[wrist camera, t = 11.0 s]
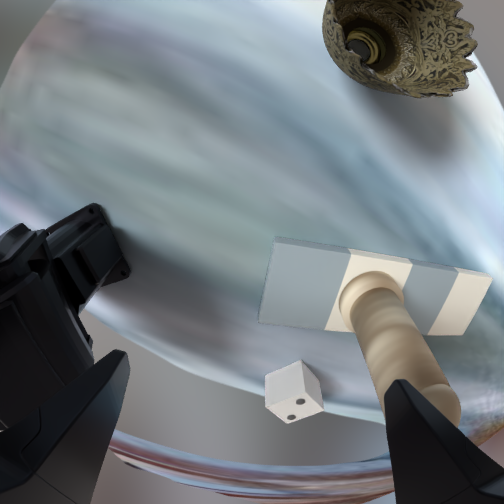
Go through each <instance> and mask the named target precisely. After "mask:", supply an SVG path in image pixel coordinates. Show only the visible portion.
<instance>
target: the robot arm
mask: <svg viewBox="0 0 504 504" xmlns="http://www.w3.org/2000/svg"><path fill="white" fill-rule="evenodd" d="M91 208H93V209H94V212H92V210H91ZM49 233H50V234H49ZM123 270H124V271H125V272H126V273H124V272H123ZM130 274H131V270H130V268H129V266H128V264H127V262H126V260H125V259H124V257H123V255H122V252H121V250H120V248H119V246H118V244H117V242H116V240H115V238H114V236H113V234H112V232H111V230H110V228H109V226H107V223H106V221H105V219H104V217H103V215H102V213H101V211H100V209H99V207H98V205H97V204H95V203H91V204H89V205H87V206H85V207H84V208H82V209H80V210H78V211H76V212H74V213H73V214H71V215H69V216H67V217H66V218H64V219H62V220H60V221H59V222H57V223H55V224H54V225H52V226H50V227H49V228H47V229H46V230H45V229H41V230H37V231H31V229H29V228H28V227H26V226H25V225H24V224H23V223H20V224H17V225H15V226H14V227H12V228H11V229H9V230H8V231H6V232H5V233H3V234H2V235H1V236H0V431H2V432H0V504H90V502H91V499H92V495H93V492H94V489H95V486H96V482H97V479H98V476H99V473H100V470H101V467H102V464H103V461H104V458H105V455H106V452H107V449H108V446H109V443H110V440H111V437H112V435H113V432H114V429H115V426H116V423H117V421H118V418H119V415H120V411H121V408H122V403H123V399H124V395H125V391H126V387H127V383H128V379H129V375H130V365H129V361H128V355H127V353H126V352H125V351H121V350H117V349H115V350H113V351H112V352H110V353H109V354H107V355H106V356H105V357H103V358H102V359H101V360H99V361H98V362H97V363H95V364H94V357H93V352H92V344H93V340H92V339H91V337H90V335H88V334H87V332H86V330H85V328H84V326H83V324H82V322H81V320H80V318H79V316H78V315H79V314H80V313H81V311H82V310H83V309H84V307H85V306H86V305H87V303H88V302H89V301H90V299H91V298H92V297H93V295H94V294H95V293H96V292H97V290H98V289H99V288H100V287H102V286H105V285H108V284H111V283H114V282H117V281H120V280H123V279H126V278H128V277H129V276H130ZM384 408H385V421H386V433H387V440H388V446H389V452H390V458H391V465H392V472H393V480H394V488H395V496H396V504H504V468H503V467H502V466H500V465H499V464H497V463H496V462H495V461H494V460H493V459H491V458H490V457H489V456H487V455H486V454H485V453H484V452H483V451H481V450H480V449H479V448H478V447H477V446H476V445H475V444H474V443H473V442H471V441H470V440H469V439H468V438H467V437H465V435H464V434H463V433H462V432H461V431H460V430H459V429H458V428H457V427H456V426H455V425H454V424H453V423H452V422H451V421H449V420H448V419H447V418H446V417H445V416H444V415H443V414H442V413H441V412H440V411H439V410H438V409H437V408H436V407H435V406H434V405H433V404H432V403H431V402H429V401H428V400H427V399H426V398H425V397H424V396H423V395H422V394H421V393H420V392H419V391H418V390H417V389H416V388H415V387H414V386H413V385H411V384H410V383H409V382H408V381H407V380H406V379H395V380H394V381H393V382H392V384H391V385H390V386H389V388H388V389H387V391H386V392H385V394H384Z"/></svg>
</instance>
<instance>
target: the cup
mask: <svg viewBox="0 0 504 504" xmlns="http://www.w3.org/2000/svg"><path fill="white" fill-rule="evenodd" d="M461 9H463V5H462V4H461V3H460V2H459V1H456V0H327V3H326V6H325V10H324V15H323V23H322V32H323V38H324V42H325V45H326V48H327V50H328V52H329V54H330V56H331V58H332V59H333V61H334V62H335V63H336V65H337V66H338V67H339V68H340V69H341V70H342V71H343V72H344V73H345V74H346V75H348V76H349V77H350V78H352V79H353V80H355V81H357V82H358V83H360V84H362V85H364V86H366V87H369V88H372V89H375V90H379V91H382V92H388V93H393V94H400V95H406V96H412V97H415V98H421V97H426V98H431V97H434V96H436V97H450V96H453V94H452V92H457V91H461V90H465V89H467V88H468V86H469V82H468V78H467V76H466V73H467V72H472V71H473V70H475V69H477V65H476V64H474V63H473V61H472V60H468V59H466V57H469V56H470V55H472V52H473V51H474V49H475V48H476V47H477V45H478V44H477V41H476V40H474V39H471V37H470V36H471V35H472V32H473V30H474V26H473V25H472V24H471V23H470V22H468V21H466V20H464V19H462V18H458V17H456V15H457V13H458V12H459V11H460V10H461ZM355 39H358V40H361V41H363V42H365V43H366V44H367V46H368V47H369V49H370V56H369V58H368V59H367V60H365V61H363V59H362V57H361V56H360V55H358V54H356V53H355V52H354V51H353V50H352V49H351V48H349V47H348V43H349V42H350V41H351V40H355Z"/></svg>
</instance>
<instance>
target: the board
mask: <svg viewBox="0 0 504 504" xmlns="http://www.w3.org/2000/svg"><path fill="white" fill-rule="evenodd" d="M369 271H382V272H385V273H387V274H389V275H390V276H391V277H392V278H393V279H394V280H395V282H396V283H397V285H398V286H399V288H400V289H401V290H402V292H403V295H404V305H403V306H404V307H405V309H406V310H407V312H408V314H409V315H410V317H411V318H412V320H413V322H414V323H415V325H416V327H417V328H418V330H419V331H420V333H421V335H463V333H464V332H465V330H466V328H467V327H468V325H469V323H470V322H471V320H472V318H473V316H474V314H475V313H476V311H477V309H478V307H479V305H480V303H481V301H482V300H483V298H484V296H485V294H486V292H487V290H488V288H489V286H490V283H491V281H492V279H493V278H492V277H490V276H489V275H488V274H487V273H482V272H477V271H472V270H466V269H461V268H456V267H451V266H445V265H440V264H435V263H429V262H424V261H418V260H413V259H407V258H401V257H396V256H390V255H384V254H379V253H373V252H367V251H361V250H355V249H349V248H343V247H337V246H331V245H325V244H319V243H313V242H307V241H301V240H294V239H288V238H282V237H275V236H274V241H273V246H272V251H271V256H270V260H269V265H268V270H267V275H266V280H265V284H264V289H263V294H262V299H261V303H260V308H259V312H258V323H261V324H269V325H278V326H287V327H297V328H307V329H318V330H329V331H342V332H352V331H350V330H349V329H348V328H347V327H346V325H345V323H344V321H343V318H342V315H341V313H340V310H339V298H340V295H341V292H342V290H343V289H344V287H345V286H346V285H347V284H348V283H349V282H350V281H351V280H352V279H353V278H355V277H356V276H358V275H360V274H362V273H365V272H369Z"/></svg>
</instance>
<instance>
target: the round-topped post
mask: <svg viewBox="0 0 504 504" xmlns="http://www.w3.org/2000/svg"><path fill="white" fill-rule="evenodd" d="M403 305H404V295H403V292H402V290H401V289H400V288H399V286H398V285H397V283H396V282H395V280H394V279H393V278H392V277H391V276H390V275H389V274H387V273H385V272H382V271H369V272H365V273H362V274H360V275H358V276H356V277H355V278H353V279H352V280H351V281H350V282H349V283H348V284H347V285H346V286H345V287H344V289H343V290H342V292H341V295H340V298H339V310H340V313H341V315H342V318H343V321H344V323H345V325H346V327H347V328H348V329H349V330H350V331H352V332H353V333H355V334H356V336H357V339H358V342H359V344H360V347H361V350H362V353H363V355H364V358H365V361H366V364H367V366H368V369H369V372H370V375H371V378H372V381H373V384H374V387H375V390H376V393H377V396H378V399H379V402H380V405H381V408H382V411H383V414H384V417H385V408H384V394H385V392H386V391H387V389H388V388H389V386H390V385H391V384H392V382H393V381H394V380H395V379H406V380H407V381H408V382H409V383H410V384H411V385H413V386H414V387H415V388H416V389H417V390H418V391H419V392H420V393H421V394H422V395H423V396H424V397H425V398H426V399H427V400H428V401H429V402H431V403H432V404H433V405H434V406H435V407H436V408H437V409H438V410H439V411H440V412H441V413H442V414H443V415H444V416H445V417H446V418H447V419H448V420H449V421H451V422H452V423H453V424H454V425H455V426H456V427H457V428H458V425H459V422H460V418H461V406H460V402H459V399H458V397H457V395H456V393H455V392H454V391H453V390H452V389H451V388H450V385H449V383H448V381H447V379H446V377H445V376H444V374H443V372H442V370H441V368H440V366H439V364H438V363H437V361H436V359H435V357H434V355H433V354H432V352H431V350H430V348H429V347H428V345H427V343H426V342H425V340H424V338H423V336H422V335H421V333H420V331H419V330H418V328H417V327H416V325H415V323H414V322H413V320H412V318H411V317H410V315H409V314H408V312H407V310H406V309H405V307H404V306H403Z"/></svg>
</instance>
